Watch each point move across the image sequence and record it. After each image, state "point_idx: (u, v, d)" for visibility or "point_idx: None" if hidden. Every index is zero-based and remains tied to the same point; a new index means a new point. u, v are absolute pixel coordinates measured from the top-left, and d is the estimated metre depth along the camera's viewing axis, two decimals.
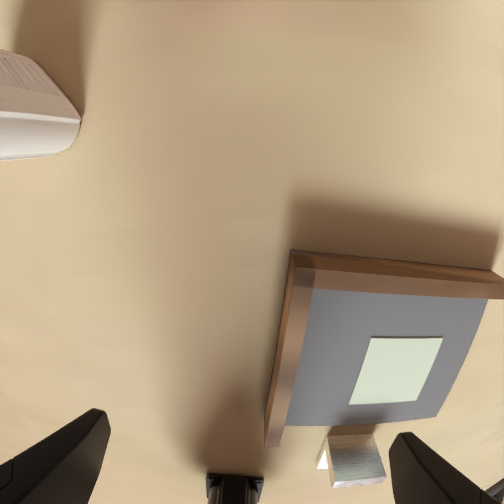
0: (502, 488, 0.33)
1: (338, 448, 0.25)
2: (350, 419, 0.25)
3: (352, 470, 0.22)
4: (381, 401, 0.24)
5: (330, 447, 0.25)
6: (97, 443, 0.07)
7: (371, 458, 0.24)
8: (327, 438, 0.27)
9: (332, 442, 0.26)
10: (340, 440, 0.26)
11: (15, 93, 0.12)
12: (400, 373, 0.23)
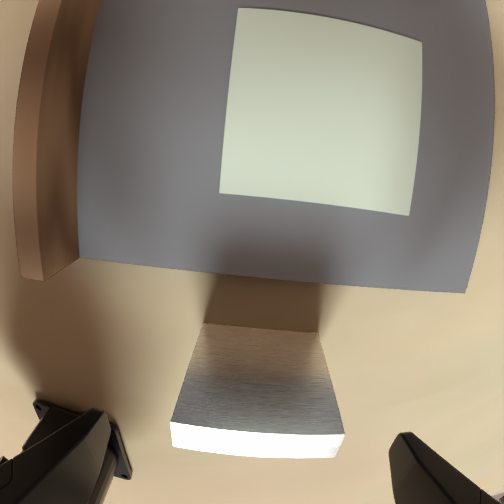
0: None
1: (219, 348, 0.12)
2: (238, 254, 0.12)
3: (238, 402, 0.09)
4: (311, 197, 0.11)
5: (199, 343, 0.12)
6: (97, 443, 0.07)
7: (304, 381, 0.10)
8: (203, 327, 0.13)
9: (210, 335, 0.13)
10: (232, 334, 0.13)
11: None
12: (341, 107, 0.10)
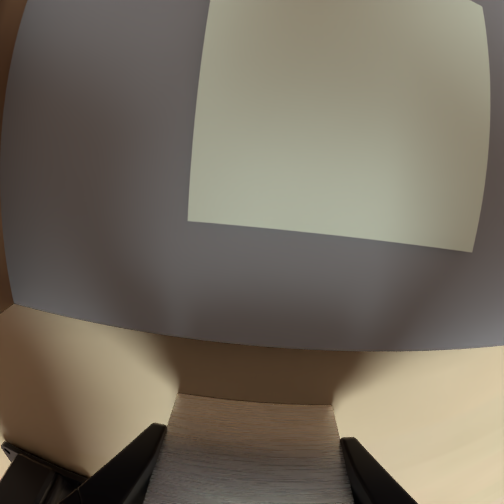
0: None
1: (197, 440, 0.07)
2: (221, 313, 0.07)
3: None
4: (337, 227, 0.07)
5: (170, 432, 0.08)
6: None
7: (315, 494, 0.06)
8: (176, 403, 0.09)
9: (185, 417, 0.08)
10: (216, 416, 0.09)
11: None
12: (384, 83, 0.06)
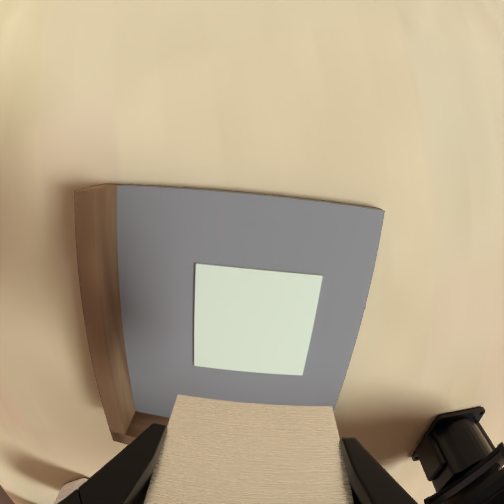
0: None
1: (197, 441, 0.07)
2: (337, 365, 0.19)
3: None
4: (308, 334, 0.19)
5: (170, 433, 0.08)
6: None
7: (315, 495, 0.06)
8: (176, 404, 0.09)
9: (185, 418, 0.08)
10: (216, 417, 0.08)
11: None
12: (254, 320, 0.18)
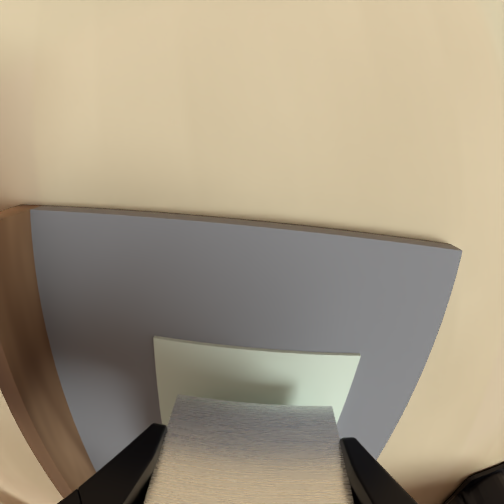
0: None
1: (197, 441, 0.07)
2: None
3: None
4: None
5: (170, 433, 0.08)
6: None
7: (315, 495, 0.06)
8: (176, 404, 0.09)
9: (185, 418, 0.08)
10: (216, 417, 0.08)
11: None
12: None
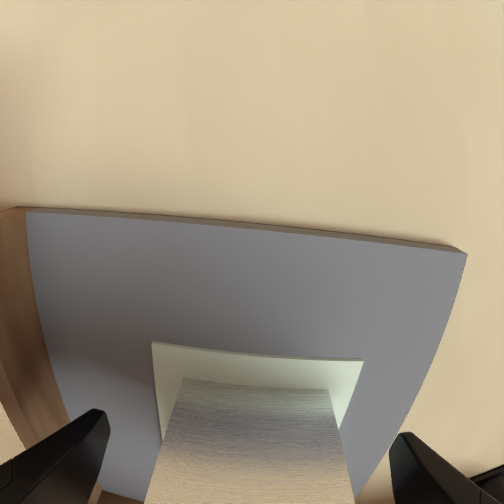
0: None
1: (201, 420, 0.08)
2: (366, 460, 0.12)
3: None
4: None
5: (176, 413, 0.08)
6: (97, 443, 0.07)
7: (312, 470, 0.07)
8: (182, 387, 0.10)
9: (190, 399, 0.09)
10: (219, 399, 0.09)
11: None
12: None
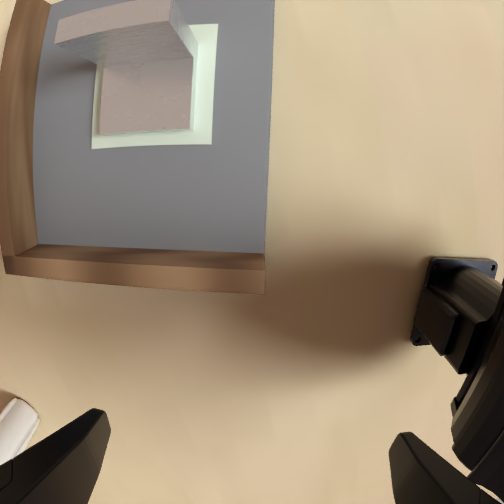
0: None
1: None
2: (254, 129, 0.16)
3: None
4: (210, 86, 0.15)
5: None
6: (97, 443, 0.07)
7: None
8: None
9: None
10: None
11: None
12: None
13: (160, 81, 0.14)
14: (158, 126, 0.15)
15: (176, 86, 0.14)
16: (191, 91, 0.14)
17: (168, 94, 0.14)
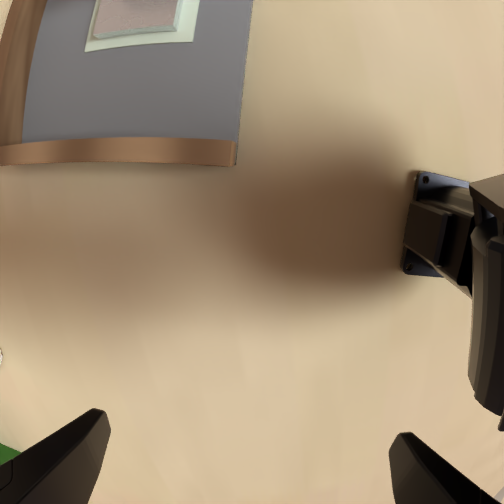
0: None
1: None
2: (233, 30, 0.14)
3: None
4: None
5: None
6: (97, 443, 0.07)
7: None
8: None
9: None
10: None
11: None
12: None
13: None
14: (145, 24, 0.13)
15: None
16: None
17: None
